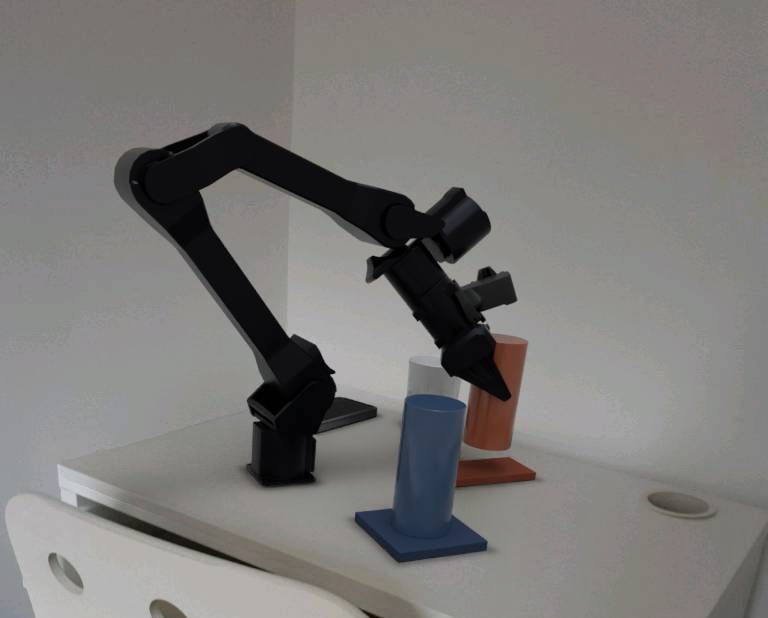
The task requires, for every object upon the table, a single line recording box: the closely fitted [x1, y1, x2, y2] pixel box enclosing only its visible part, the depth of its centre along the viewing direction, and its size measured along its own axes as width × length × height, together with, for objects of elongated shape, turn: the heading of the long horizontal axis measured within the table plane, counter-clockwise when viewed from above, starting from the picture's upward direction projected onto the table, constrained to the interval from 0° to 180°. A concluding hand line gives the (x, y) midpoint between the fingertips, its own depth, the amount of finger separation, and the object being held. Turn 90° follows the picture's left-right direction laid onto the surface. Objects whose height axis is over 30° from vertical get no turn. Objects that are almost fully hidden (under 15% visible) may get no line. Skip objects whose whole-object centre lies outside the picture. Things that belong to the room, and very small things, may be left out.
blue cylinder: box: [391, 394, 467, 538], centre depth 80 cm, size 6×6×13 cm
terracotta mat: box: [455, 456, 537, 488], centre depth 102 cm, size 12×6×1 cm, turn 117°
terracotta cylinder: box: [462, 332, 529, 452], centre depth 98 cm, size 6×6×13 cm
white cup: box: [406, 354, 463, 400], centre depth 117 cm, size 8×8×10 cm
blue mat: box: [354, 507, 489, 563], centre depth 83 cm, size 10×10×1 cm
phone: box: [318, 396, 379, 433], centre depth 118 cm, size 8×1×15 cm
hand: (505, 392), depth 98 cm, fingers closed on terracotta cylinder, 6 cm apart
